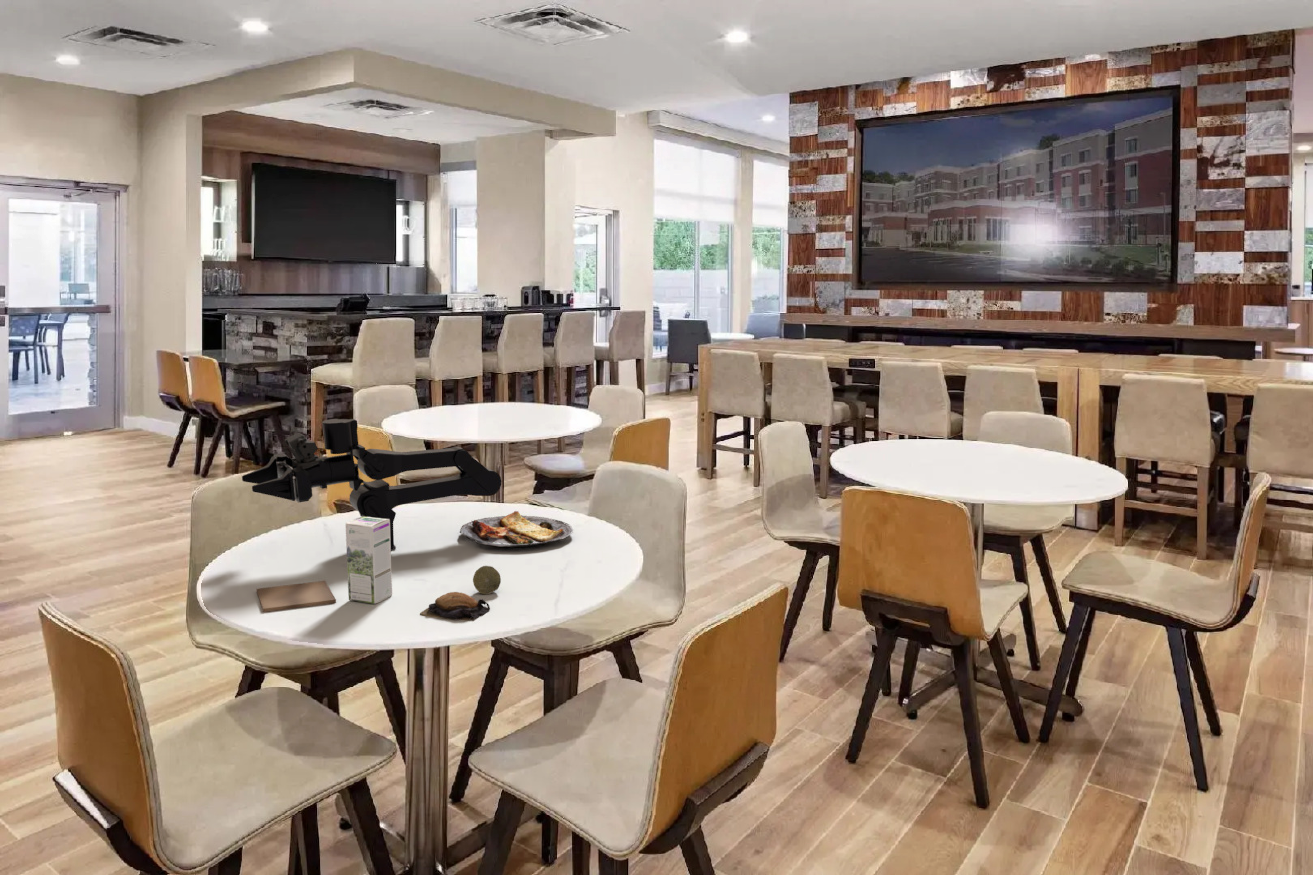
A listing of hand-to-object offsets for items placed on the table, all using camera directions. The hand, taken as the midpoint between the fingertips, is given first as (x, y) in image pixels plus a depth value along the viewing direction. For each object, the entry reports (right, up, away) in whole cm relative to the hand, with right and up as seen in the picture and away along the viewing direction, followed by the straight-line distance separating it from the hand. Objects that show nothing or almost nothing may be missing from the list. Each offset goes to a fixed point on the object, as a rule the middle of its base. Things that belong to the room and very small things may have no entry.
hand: (247, 483), depth 193 cm
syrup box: (+29, -20, -16) cm, 39 cm away
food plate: (+49, -14, +27) cm, 58 cm away
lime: (+49, -20, -11) cm, 54 cm away
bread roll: (+46, -22, -22) cm, 55 cm away
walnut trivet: (+16, -20, -16) cm, 30 cm away
